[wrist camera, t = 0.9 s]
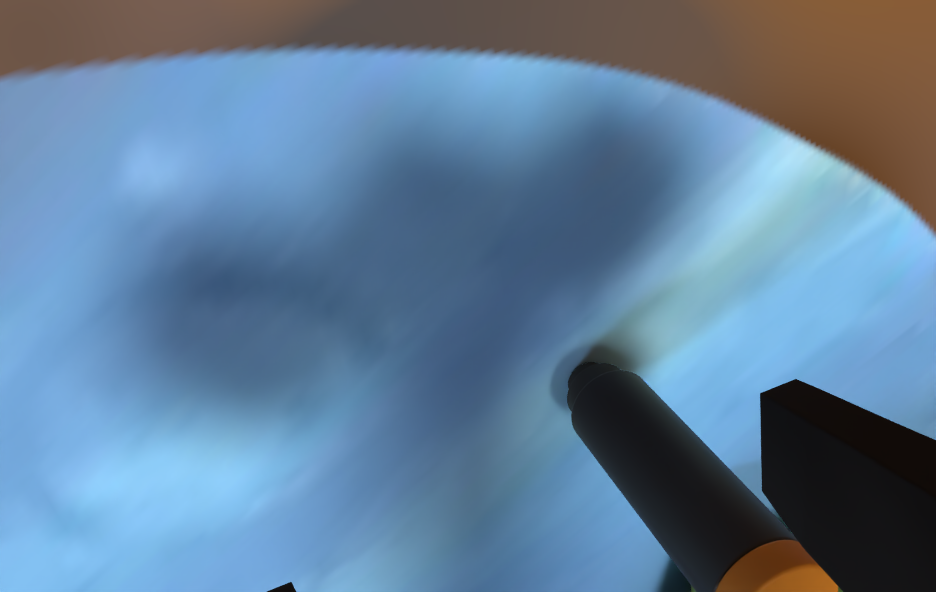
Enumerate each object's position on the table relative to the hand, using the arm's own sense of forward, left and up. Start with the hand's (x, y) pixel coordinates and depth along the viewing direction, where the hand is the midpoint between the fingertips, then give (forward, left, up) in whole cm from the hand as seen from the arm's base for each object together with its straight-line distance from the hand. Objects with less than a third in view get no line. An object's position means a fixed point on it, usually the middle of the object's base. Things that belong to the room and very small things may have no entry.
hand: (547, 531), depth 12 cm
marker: (-4, -5, -10) cm, 12 cm away
